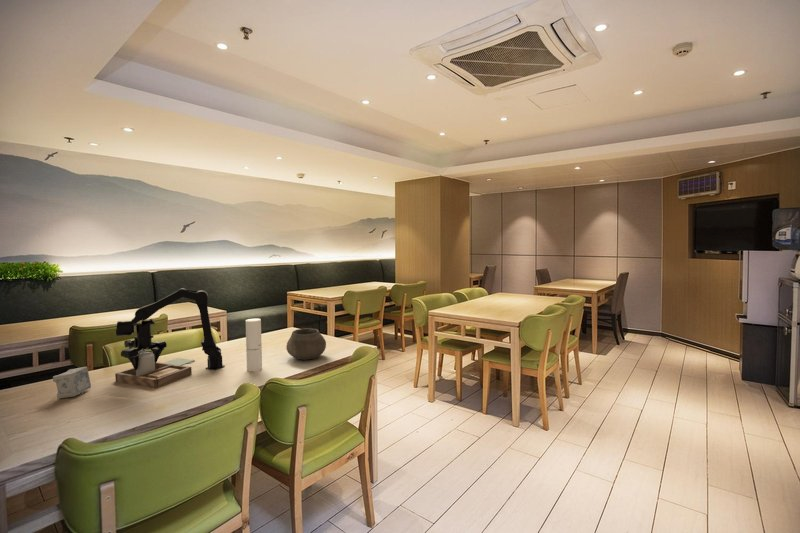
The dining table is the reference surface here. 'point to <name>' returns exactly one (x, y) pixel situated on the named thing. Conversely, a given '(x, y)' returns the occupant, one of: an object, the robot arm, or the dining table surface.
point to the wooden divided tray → (144, 380)
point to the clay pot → (306, 344)
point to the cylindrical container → (253, 344)
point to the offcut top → (162, 373)
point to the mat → (179, 361)
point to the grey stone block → (72, 382)
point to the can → (145, 362)
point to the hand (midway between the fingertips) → (145, 366)
